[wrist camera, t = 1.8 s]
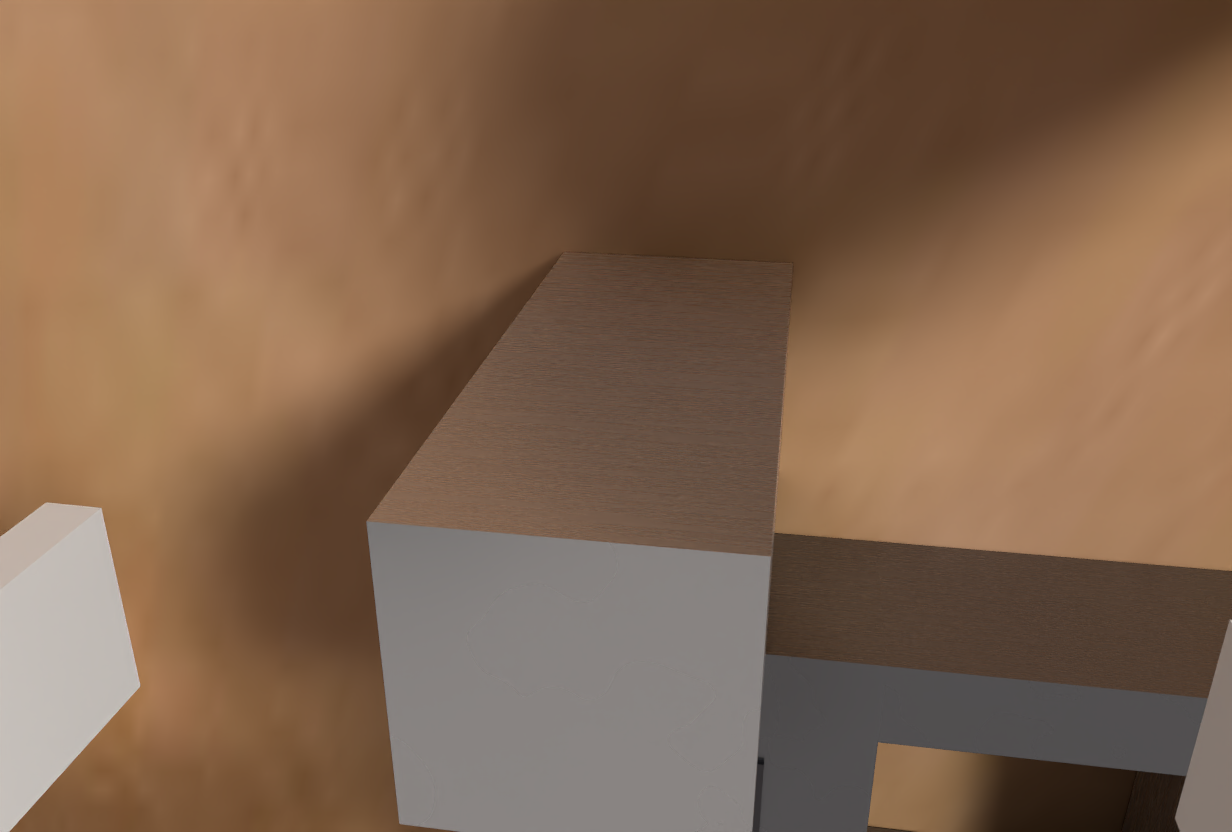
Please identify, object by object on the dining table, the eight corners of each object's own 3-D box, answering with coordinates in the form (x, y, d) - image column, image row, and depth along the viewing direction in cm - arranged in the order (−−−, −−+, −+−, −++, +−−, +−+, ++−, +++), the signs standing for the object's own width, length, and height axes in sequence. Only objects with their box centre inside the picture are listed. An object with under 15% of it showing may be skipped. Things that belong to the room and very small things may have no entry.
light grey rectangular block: (568, 454, 22) (400, 823, 13) (564, 251, 21) (366, 522, 12) (778, 470, 22) (749, 868, 13) (793, 262, 20) (770, 556, 11)
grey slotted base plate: (539, 837, 27) (494, 985, 23) (526, 512, 23) (471, 627, 19) (1450, 954, 24) (1564, 1146, 20) (1607, 602, 20) (1784, 760, 16)
